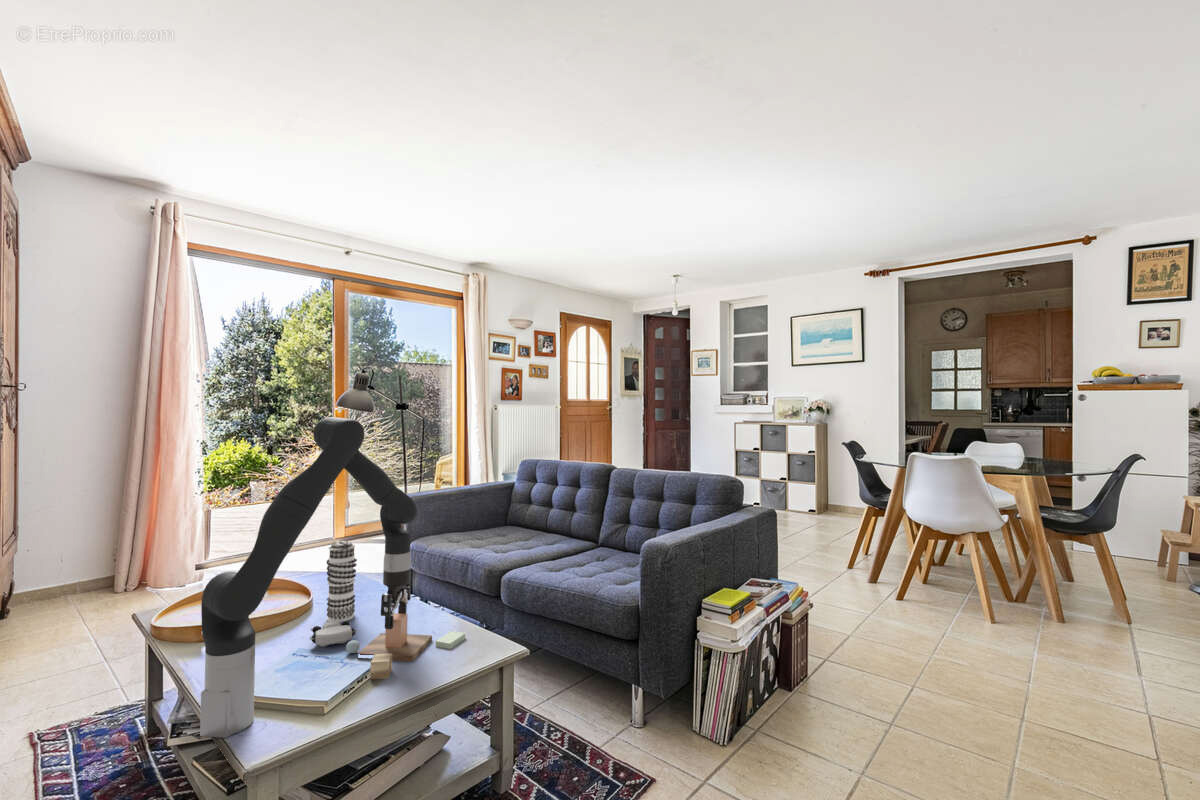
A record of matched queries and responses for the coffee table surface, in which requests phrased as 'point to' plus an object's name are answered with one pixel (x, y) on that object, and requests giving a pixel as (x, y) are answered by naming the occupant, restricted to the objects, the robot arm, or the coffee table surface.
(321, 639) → the robot toy
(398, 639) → the terracotta block
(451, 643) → the sage flat block
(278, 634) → the coffee table surface
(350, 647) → the grey ball
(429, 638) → the walnut board
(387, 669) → the beech cube
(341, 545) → the grey banded tower model
